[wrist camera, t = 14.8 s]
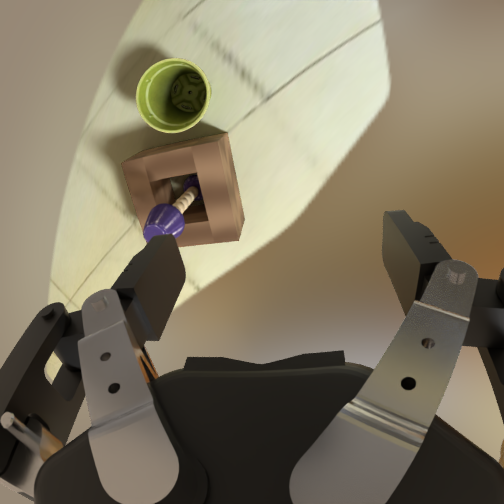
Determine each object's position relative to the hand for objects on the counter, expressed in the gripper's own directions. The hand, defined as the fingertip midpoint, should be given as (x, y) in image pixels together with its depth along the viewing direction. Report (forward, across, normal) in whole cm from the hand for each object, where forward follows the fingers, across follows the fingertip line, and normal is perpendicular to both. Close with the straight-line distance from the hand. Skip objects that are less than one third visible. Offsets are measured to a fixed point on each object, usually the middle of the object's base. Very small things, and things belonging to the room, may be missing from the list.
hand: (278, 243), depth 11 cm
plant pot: (+34, +12, -7) cm, 37 cm away
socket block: (+34, +15, +7) cm, 38 cm away
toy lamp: (+34, +15, +7) cm, 38 cm away
